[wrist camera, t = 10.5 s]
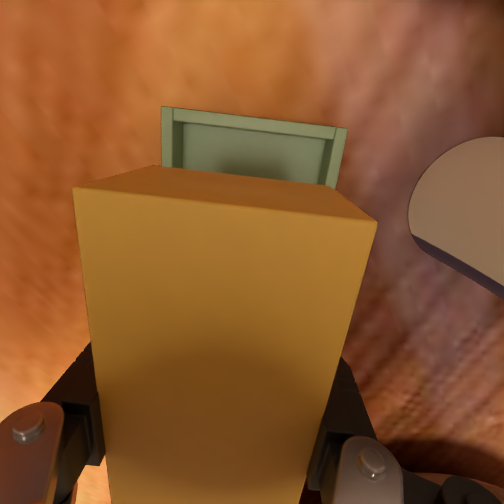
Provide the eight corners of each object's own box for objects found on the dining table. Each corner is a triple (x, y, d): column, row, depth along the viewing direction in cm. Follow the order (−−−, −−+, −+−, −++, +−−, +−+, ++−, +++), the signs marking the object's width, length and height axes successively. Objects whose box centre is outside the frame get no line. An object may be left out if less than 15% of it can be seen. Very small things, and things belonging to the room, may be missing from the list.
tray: (172, 341, 22) (162, 365, 20) (175, 110, 16) (160, 105, 14) (290, 355, 22) (293, 380, 20) (336, 129, 16) (348, 128, 14)
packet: (151, 164, 9) (69, 186, 5) (331, 185, 9) (380, 221, 5) (157, 434, 13) (116, 550, 10) (276, 447, 13) (281, 568, 10)
